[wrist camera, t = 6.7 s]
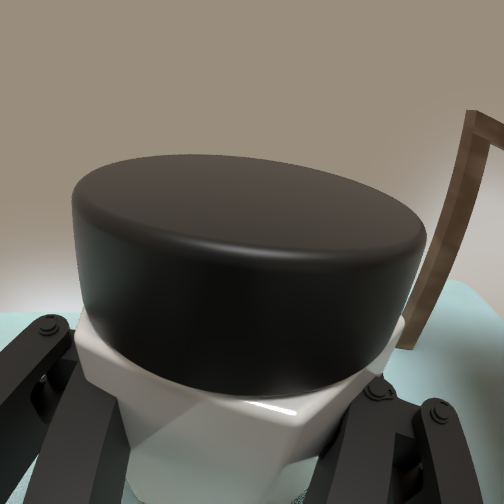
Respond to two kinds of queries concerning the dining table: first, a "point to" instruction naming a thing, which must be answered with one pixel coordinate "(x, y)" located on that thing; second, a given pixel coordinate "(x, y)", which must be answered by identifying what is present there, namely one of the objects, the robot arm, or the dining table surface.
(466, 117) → the trapdoor frame
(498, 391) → the dining table surface
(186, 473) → the jar
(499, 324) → the dining table surface
